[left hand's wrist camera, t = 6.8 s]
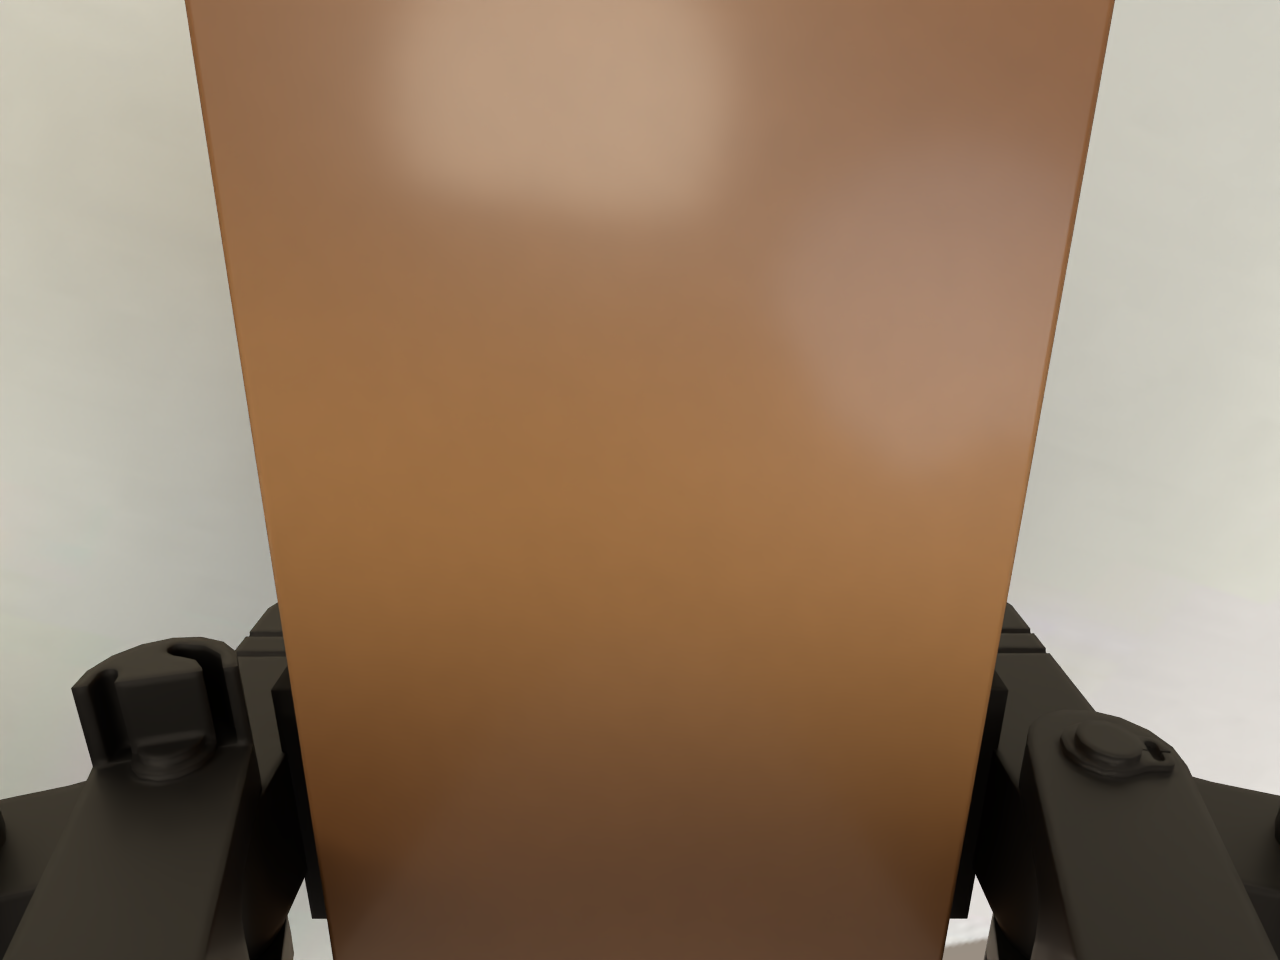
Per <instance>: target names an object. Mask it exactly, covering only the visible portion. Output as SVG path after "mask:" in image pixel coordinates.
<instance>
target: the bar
mask: <svg viewBox="0 0 1280 960" xmlns="http://www.w3.org/2000/svg"><path fill="white" fill-rule="evenodd" d="M1114 2H1115V0H185V5H186V11H187V18H188V24H189V31H190V37H191V44H192V50H193V57H194V63H195V70H196V76H197V82H198V89H199V95H200V102H201V108H202V115H203V121H204V128H205V134H206V141H207V147H208V154H209V160H210V166H211V173H212V179H213V186H214V192H215V199H216V205H217V212H218V218H219V225H220V231H221V237H222V244H223V250H224V257H225V263H226V270H227V276H228V283H229V289H230V296H231V302H232V309H233V315H234V321H235V328H236V334H237V341H238V347H239V354H240V360H241V367H242V373H243V380H244V386H245V392H246V399H247V405H248V412H249V418H250V425H251V431H252V438H253V444H254V451H255V457H256V464H257V470H258V476H259V483H260V489H261V496H262V502H263V509H264V515H265V522H266V528H267V535H268V541H269V547H270V554H271V560H272V567H273V573H274V580H275V586H276V593H277V599H278V606H279V612H280V619H281V625H282V631H283V638H284V644H285V651H286V657H287V664H288V670H289V677H290V683H291V690H292V696H293V702H294V709H295V715H296V722H297V728H298V735H299V741H300V748H301V754H302V761H303V767H304V774H305V780H306V786H307V793H308V799H309V806H310V812H311V819H312V825H313V832H314V838H315V845H316V851H317V857H318V864H319V870H320V877H321V883H322V890H323V896H324V903H325V909H326V916H327V922H328V929H329V935H330V941H331V948H332V954H333V960H942V958H943V953H944V947H945V941H946V936H947V930H948V925H949V919H950V914H951V908H952V903H953V897H954V891H955V886H956V880H957V875H958V869H959V864H960V858H961V853H962V847H963V841H964V836H965V830H966V825H967V819H968V814H969V808H970V803H971V797H972V791H973V786H974V780H975V775H976V769H977V764H978V758H979V752H980V747H981V741H982V736H983V730H984V725H985V719H986V714H987V708H988V702H989V697H990V691H991V686H992V680H993V675H994V669H995V664H996V658H997V652H998V647H999V641H1000V636H1001V630H1002V625H1003V619H1004V614H1005V608H1006V602H1007V597H1008V591H1009V586H1010V580H1011V575H1012V569H1013V564H1014V558H1015V552H1016V547H1017V541H1018V536H1019V530H1020V525H1021V519H1022V513H1023V508H1024V502H1025V497H1026V491H1027V486H1028V480H1029V475H1030V469H1031V463H1032V458H1033V452H1034V447H1035V441H1036V436H1037V430H1038V425H1039V419H1040V413H1041V408H1042V402H1043V397H1044V391H1045V386H1046V380H1047V375H1048V369H1049V363H1050V358H1051V352H1052V347H1053V341H1054V336H1055V330H1056V324H1057V319H1058V313H1059V308H1060V302H1061V297H1062V291H1063V286H1064V280H1065V274H1066V269H1067V263H1068V258H1069V252H1070V247H1071V241H1072V236H1073V230H1074V224H1075V219H1076V213H1077V208H1078V202H1079V197H1080V191H1081V186H1082V180H1083V174H1084V169H1085V163H1086V158H1087V152H1088V147H1089V141H1090V135H1091V130H1092V124H1093V119H1094V113H1095V108H1096V102H1097V97H1098V91H1099V85H1100V80H1101V74H1102V69H1103V63H1104V58H1105V52H1106V47H1107V41H1108V35H1109V30H1110V24H1111V19H1112V13H1113V8H1114Z"/></svg>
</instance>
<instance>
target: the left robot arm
mask: <svg viewBox="0 0 1280 960" xmlns="http://www.w3.org/2000/svg"><path fill="white" fill-rule="evenodd" d="M1045 650H1046V648H1045V647H1044V646H1043V644H1042V643H1041V642H1040V641H1039V639H1038V638H1037V637H1036V636H1035V634H1034V633H1030V628H1029V627H1028V625H1027V624H1026V623H1025V622H1024V620H1023V619H1022V618H1021V617H1020V615H1019V614H1018V613H1017V611H1016V610H1015V609H1014V608H1013V606H1012V605H1010V604H1009V603H1007V602H1006V608H1005V614H1004V619H1003V625H1002V630H1001V636H1000V641H999V647H998V652H997V658H996V664H995V669H994V675H993V680H992V686H991V691H990V697H989V702H988V708H987V714H986V719H985V725H984V730H983V736H982V741H981V747H980V752H979V758H978V764H977V769H976V775H975V780H974V786H973V791H972V797H971V803H970V808H969V814H968V819H967V825H966V830H965V836H964V841H963V847H962V853H961V858H960V864H959V869H958V875H957V880H956V886H955V891H954V897H953V903H952V908H951V914H950V919H967V918H968V912H969V906H970V901H971V895H972V890H973V884H974V879H975V874H976V876H977V878H978V881H979V883H980V885H981V887H982V889H983V892H984V894H985V896H986V898H987V900H988V903H989V905H990V907H991V909H992V911H993V915H992V920H991V926H990V931H989V936H988V941H987V946H986V951H985V956H984V960H1280V796H1278V795H1273V794H1268V793H1263V792H1259V791H1254V790H1249V789H1244V788H1239V787H1234V786H1229V785H1224V784H1219V783H1214V782H1210V781H1206V780H1203V779H1199V778H1195V777H1192V775H1191V773H1190V771H1189V769H1188V767H1187V765H1186V764H1185V762H1184V761H1183V760H1182V759H1181V757H1180V756H1179V755H1178V753H1177V752H1176V751H1175V750H1174V748H1173V747H1172V746H1170V745H1169V744H1168V743H1166V742H1165V741H1163V740H1162V739H1161V738H1159V737H1158V736H1156V735H1155V734H1154V733H1152V732H1151V731H1149V730H1147V729H1145V728H1143V727H1140V726H1138V725H1136V724H1134V723H1131V722H1129V721H1127V720H1125V719H1122V718H1120V717H1116V716H1111V715H1107V714H1103V713H1099V712H1096V711H1095V710H1094V709H1093V708H1092V706H1091V705H1090V704H1089V703H1088V701H1087V700H1086V699H1085V698H1084V696H1083V695H1082V694H1081V692H1080V691H1079V690H1078V689H1077V687H1076V686H1075V685H1074V684H1073V682H1072V681H1071V680H1070V679H1069V677H1068V676H1067V675H1066V673H1065V672H1064V671H1063V670H1062V668H1061V667H1060V666H1059V665H1058V663H1057V662H1056V661H1055V660H1054V658H1053V657H1052V656H1051V654H1050V653H1046V651H1045ZM71 689H72V693H73V697H74V700H75V704H76V707H77V711H78V715H79V718H80V722H81V725H82V729H83V732H84V736H85V740H86V743H87V747H88V750H89V754H90V758H91V761H92V765H93V768H92V770H91V772H90V775H89V777H88V779H87V781H84V782H81V783H77V784H73V785H70V786H65V787H60V788H55V789H50V790H46V791H41V792H36V793H31V794H26V795H21V796H16V797H12V798H7V799H2V800H0V960H293V956H294V951H293V944H292V937H291V931H290V926H289V920H288V913H289V910H290V908H291V906H292V904H293V902H294V899H295V897H296V895H297V893H298V891H299V888H300V886H301V884H302V882H303V879H304V877H305V882H306V888H307V893H308V899H309V904H310V910H311V915H312V919H327V916H326V909H325V903H324V896H323V890H322V883H321V877H320V870H319V864H318V857H317V851H316V845H315V838H314V832H313V825H312V819H311V812H310V806H309V799H308V793H307V786H306V780H305V774H304V767H303V761H302V754H301V748H300V741H299V735H298V728H297V722H296V715H295V709H294V702H293V696H292V690H291V683H290V677H289V670H288V664H287V657H286V651H285V644H284V638H283V631H282V625H281V619H280V612H279V606H278V603H276V604H275V605H273V606H271V607H270V608H268V609H267V611H266V612H265V613H264V614H263V616H262V617H261V618H260V620H259V621H258V622H257V623H256V625H255V626H254V627H253V629H252V630H251V631H250V636H249V637H245V639H244V640H243V641H242V643H241V644H240V645H239V646H238V648H237V649H236V650H233V649H232V648H231V647H229V646H228V645H227V644H226V643H224V642H222V641H217V640H213V639H208V638H204V637H186V638H170V639H165V640H161V641H156V642H151V643H146V644H142V645H139V646H137V647H134V648H131V649H129V650H126V651H123V652H121V653H118V654H116V655H113V656H111V657H109V658H108V659H106V660H104V661H103V662H101V663H99V664H98V665H96V666H95V667H93V668H91V669H90V670H88V671H87V672H86V673H85V674H84V675H83V676H82V677H81V678H80V679H79V680H78V681H77V682H76V684H75V685H74V686H73V687H72V688H71Z"/></svg>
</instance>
